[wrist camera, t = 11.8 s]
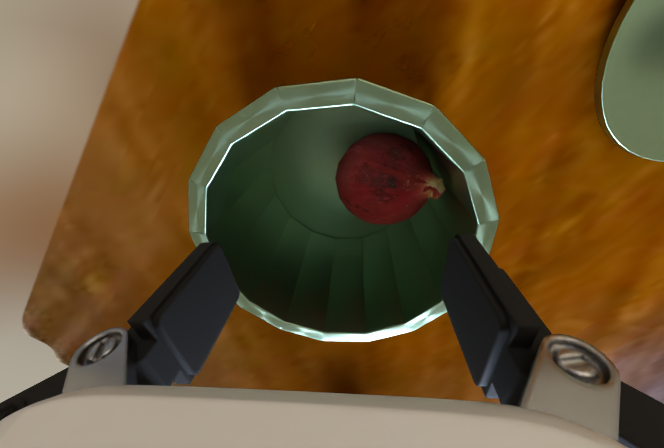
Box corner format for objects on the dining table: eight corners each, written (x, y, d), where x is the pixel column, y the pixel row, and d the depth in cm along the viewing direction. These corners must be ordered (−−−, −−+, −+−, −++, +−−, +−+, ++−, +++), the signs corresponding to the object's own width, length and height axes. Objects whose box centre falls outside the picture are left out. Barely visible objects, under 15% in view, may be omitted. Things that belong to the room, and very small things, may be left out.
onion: (309, 209, 18) (386, 238, 11) (323, 127, 17) (415, 108, 11) (369, 216, 21) (457, 243, 15) (383, 147, 20) (483, 143, 14)
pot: (243, 89, 18) (129, 103, 9) (440, 67, 16) (545, 56, 7) (281, 244, 25) (238, 339, 16) (422, 239, 23) (464, 344, 14)
